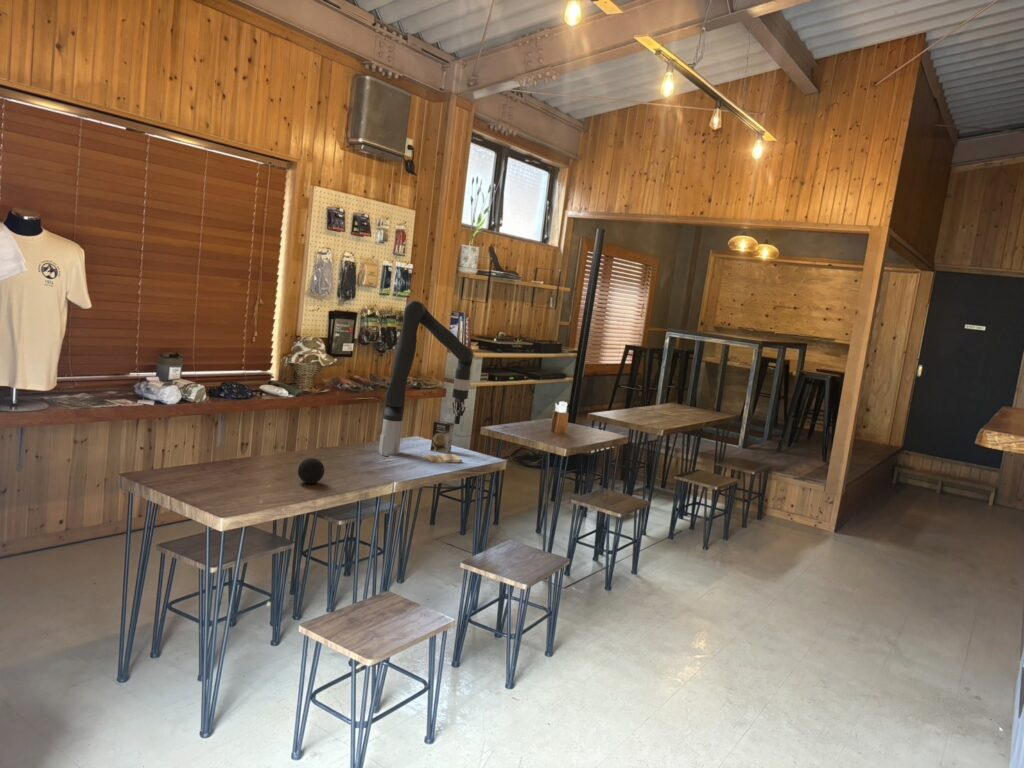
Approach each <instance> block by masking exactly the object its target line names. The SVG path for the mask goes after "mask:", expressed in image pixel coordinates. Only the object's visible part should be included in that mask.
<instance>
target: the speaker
mask: <svg viewBox="0 0 1024 768" xmlns="http://www.w3.org/2000/svg"><path fill="white" fill-rule="evenodd" d="M297 468H298V469H297V475H298V478H299V479H300V480H301V481H302V482H303V483H306V484H311V485H312V484H316V483H318V482H319V481H321V480H322V478H323V477H324V474H325V467H324V464H323V462H321V460H319V459H317V458H314V457H309V458H305V459H304V460H302V461H301V463H299V465H298V467H297Z"/></svg>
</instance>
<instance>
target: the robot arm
mask: <svg viewBox="0 0 1024 768" xmlns="http://www.w3.org/2000/svg"><path fill="white" fill-rule="evenodd" d="M420 325H422V326H423V327H424V328H426V329H427V330H428V331H429V332H430V334H432V336H434V337H435V339H436V340H437V341H439V342H440V344H442V345H443V346H444V347H445V348H446V349H448V350H449V351H450V352H451V353H452V354H453V356H454V357H456V359H457V367H456V368H455V374H454V375H455V377H454V381H453V385H452V388H453V389H452V396H451V397H452V398H454V402H452V411H453V415H454V421H453V423H454V425H460V422H461V417H462V416H463V415H464V414H465V412H466V406H465V400H467V399H469V392H470V380H471V379H470V378H471V370H472V369H471V368H472V363H473V358H474V352H473V350H472V348H471V347H469V346H466V345H465V344H464V343H463V342H461V341H460V339H459V338H458V336H456V335H455V334H454V333H453V332H452V331H450V330H449V329H448V328H447V327H446V326H444V325H443V324H442V323H440V321H438V320H437V319H436V318H435V317H434V316H433V315H432V314H431V312H429V310H428V308H426V306H425V305H424V303H422V302H421V301H419V300H411V301H409V302H407V303H406V304H405V307H404V310H403V320H402V327H401V331H400V334H399V336H398V340H397V343H396V348H395V353H394V355H393V357H394V358H393V363H392V365H393V366H392V374H391V379H390V382H389V385H388V388H387V391H386V392H385V402H384V411H383V416H382V417H383V419H382V428H381V429H382V430H381V433H380V436H379V444H378V445H379V447H378V454H380V455H381V456H386V457H389V455H391V456H392V455H399V454H400V449H401V438H402V429H403V421H404V413H405V412H404V411H405V402H406V388H407V381H408V378H409V375H410V373H411V369H412V367H413V364H414V361H415V357H416V351H417V340H418V339H417V337H418V336H417V335H418V330H419V329H418V328H419V326H420Z"/></svg>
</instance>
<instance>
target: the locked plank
mask: <svg viewBox="0 0 1024 768" xmlns="http://www.w3.org/2000/svg"><path fill="white" fill-rule="evenodd" d="M424 458H425V459H426V460H428V461H429V462H430V463H432V464H433V463H437V464H439V463H440V464H443V463H444V462H442V460H440V459H439V458H438V457H437V455H434V454H433V455H431V454H424Z"/></svg>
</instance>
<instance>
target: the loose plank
mask: <svg viewBox="0 0 1024 768" xmlns="http://www.w3.org/2000/svg"><path fill="white" fill-rule="evenodd" d="M436 456H437V457H438V458H439V459H440V460H442V462H443V463H444V464H446V463H448V464H449V463H463V459H462V458H460V457H459V456H457V455H456V454H455V453H454V454H453V453H452V454H436Z"/></svg>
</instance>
